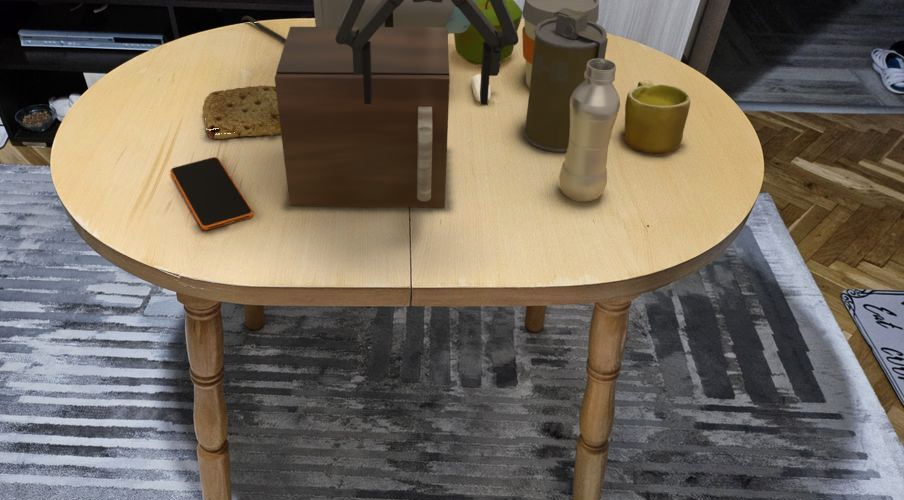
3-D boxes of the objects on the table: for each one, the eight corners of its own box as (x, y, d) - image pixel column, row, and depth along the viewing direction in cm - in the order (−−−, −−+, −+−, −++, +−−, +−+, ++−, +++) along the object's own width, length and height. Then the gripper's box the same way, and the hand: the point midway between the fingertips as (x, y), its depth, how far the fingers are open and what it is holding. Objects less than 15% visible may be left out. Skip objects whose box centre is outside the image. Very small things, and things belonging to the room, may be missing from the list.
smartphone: (203, 232, 109) (202, 227, 109) (169, 173, 121) (168, 168, 120) (256, 216, 112) (255, 211, 111) (218, 160, 123) (217, 155, 123)
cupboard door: (445, 237, 108) (450, 105, 96) (282, 235, 109) (265, 103, 96) (444, 203, 114) (449, 75, 102) (290, 201, 115) (275, 73, 102)
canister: (510, 136, 129) (521, 14, 116) (548, 112, 134) (563, -7, 121) (567, 161, 123) (586, 35, 110) (604, 135, 129) (626, 13, 116)
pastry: (174, 124, 132) (170, 107, 130) (246, 83, 143) (243, 67, 141) (253, 155, 125) (250, 138, 123) (323, 109, 135) (321, 93, 133)
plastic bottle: (593, 212, 113) (618, 80, 100) (549, 198, 116) (567, 68, 103) (610, 190, 117) (636, 61, 104) (567, 176, 120) (586, 49, 107)
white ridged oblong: (475, 106, 136) (475, 91, 134) (469, 84, 142) (469, 70, 140) (493, 106, 136) (494, 91, 134) (486, 84, 142) (487, 69, 140)
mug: (700, 152, 121) (691, 88, 117) (630, 167, 124) (619, 105, 120) (689, 126, 132) (680, 67, 127) (625, 140, 134) (614, 82, 130)
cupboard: (444, 203, 115) (449, 73, 102) (290, 201, 115) (275, 71, 102) (443, 151, 125) (447, 27, 112) (302, 150, 126) (290, 26, 113)
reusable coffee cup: (579, 66, 147) (592, -16, 138) (594, 99, 138) (608, 13, 128) (511, 67, 147) (518, -15, 137) (521, 100, 138) (529, 14, 128)
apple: (508, 42, 155) (513, -17, 148) (524, 70, 146) (530, 9, 139) (444, 46, 154) (446, -13, 147) (456, 74, 145) (459, 13, 138)
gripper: (301, -82, 79) (316, 113, 92) (557, -81, 78) (535, 115, 92) (309, -104, 84) (323, 83, 98) (548, -103, 84) (528, 85, 98)
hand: (425, 99), depth 95 cm, fingers open, 13 cm apart
